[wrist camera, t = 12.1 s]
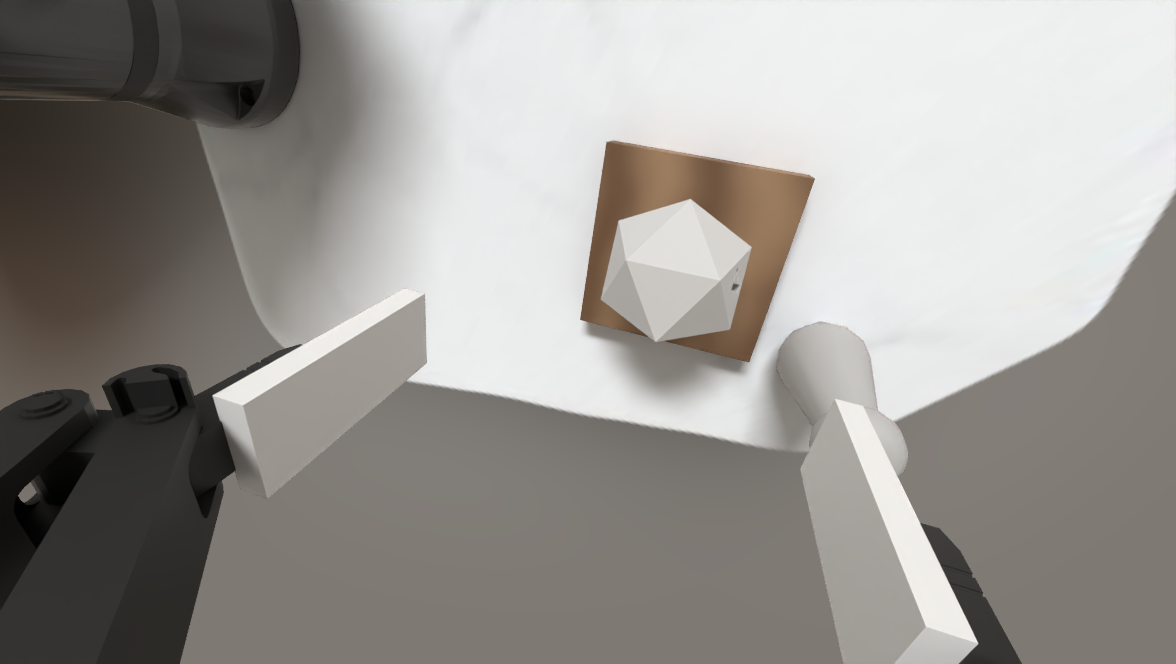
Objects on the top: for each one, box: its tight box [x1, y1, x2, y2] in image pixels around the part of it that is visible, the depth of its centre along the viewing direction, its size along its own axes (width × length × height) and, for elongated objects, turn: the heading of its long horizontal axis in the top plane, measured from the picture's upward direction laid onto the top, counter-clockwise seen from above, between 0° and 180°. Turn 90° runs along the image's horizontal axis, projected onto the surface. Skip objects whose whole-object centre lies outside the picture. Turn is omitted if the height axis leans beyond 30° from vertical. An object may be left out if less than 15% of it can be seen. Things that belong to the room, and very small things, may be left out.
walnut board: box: [580, 141, 815, 362], centre depth 32 cm, size 13×13×2 cm
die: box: [601, 199, 752, 342], centre depth 28 cm, size 8×9×10 cm
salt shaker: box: [776, 322, 908, 477], centre depth 28 cm, size 6×6×13 cm
